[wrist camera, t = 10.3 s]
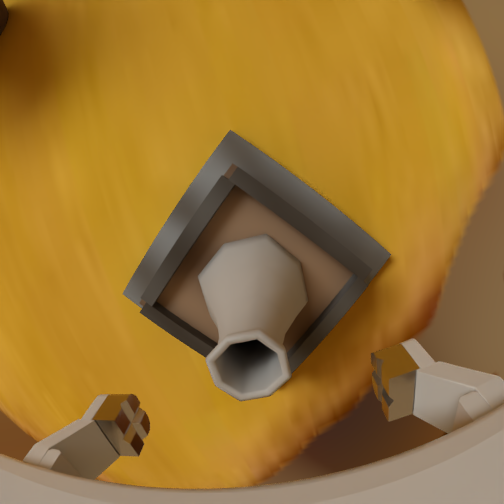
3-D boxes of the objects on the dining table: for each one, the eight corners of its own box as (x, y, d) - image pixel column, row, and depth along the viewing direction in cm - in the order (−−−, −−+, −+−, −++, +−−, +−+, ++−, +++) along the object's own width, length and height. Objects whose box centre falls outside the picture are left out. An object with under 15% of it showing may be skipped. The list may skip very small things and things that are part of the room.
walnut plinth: (231, 132, 23) (224, 118, 18) (386, 252, 24) (413, 266, 19) (126, 290, 25) (101, 311, 21) (272, 385, 27) (274, 420, 22)
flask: (270, 213, 20) (282, 240, 10) (324, 302, 21) (369, 386, 11) (180, 270, 21) (122, 337, 11) (238, 350, 22) (225, 450, 12)
